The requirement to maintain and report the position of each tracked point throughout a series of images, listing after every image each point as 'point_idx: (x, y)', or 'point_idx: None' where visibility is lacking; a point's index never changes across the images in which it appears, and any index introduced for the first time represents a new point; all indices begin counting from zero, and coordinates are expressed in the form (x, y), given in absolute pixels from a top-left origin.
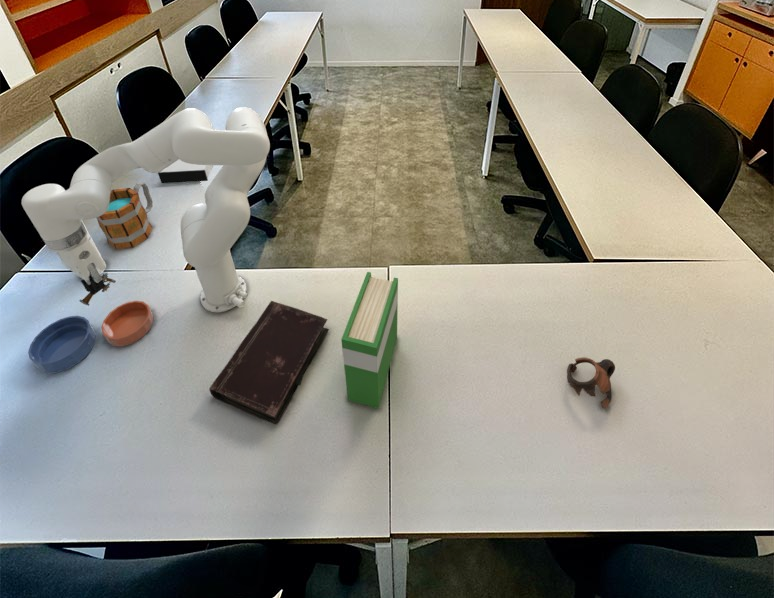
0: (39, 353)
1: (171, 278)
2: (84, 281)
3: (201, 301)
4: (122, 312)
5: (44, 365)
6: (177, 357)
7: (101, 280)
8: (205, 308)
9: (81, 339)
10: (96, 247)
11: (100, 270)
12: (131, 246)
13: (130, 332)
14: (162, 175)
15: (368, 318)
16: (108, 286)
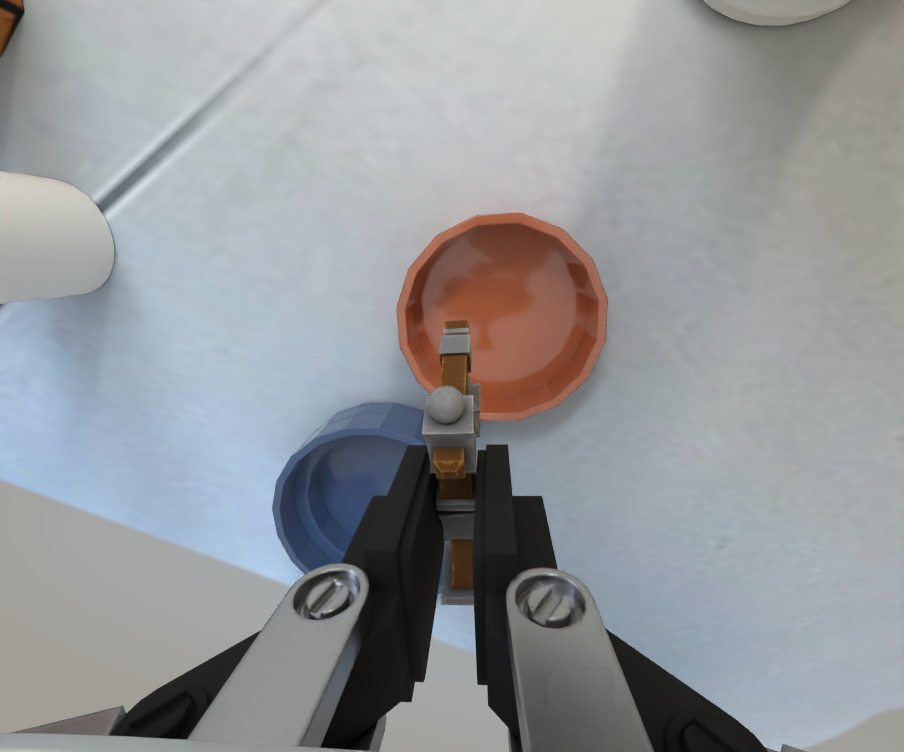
0: None
1: (411, 11)
2: (423, 671)
3: (736, 1)
4: (414, 299)
5: None
6: (823, 293)
7: (509, 499)
8: (778, 22)
9: (397, 447)
10: None
11: (90, 221)
12: (11, 11)
13: (530, 333)
14: None
15: None
16: (476, 394)
